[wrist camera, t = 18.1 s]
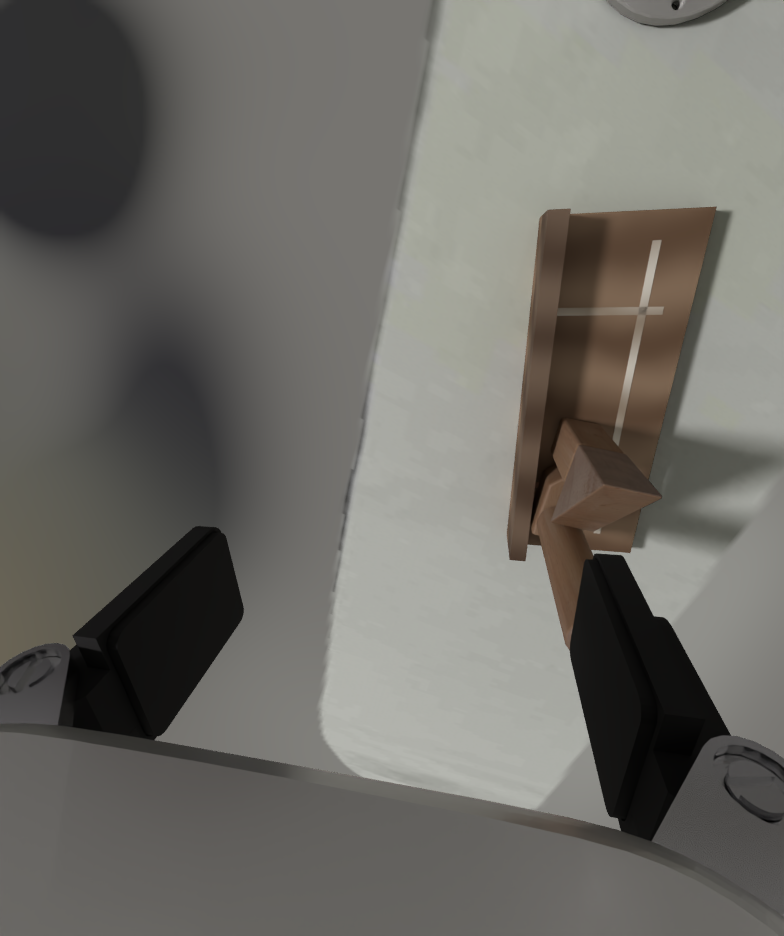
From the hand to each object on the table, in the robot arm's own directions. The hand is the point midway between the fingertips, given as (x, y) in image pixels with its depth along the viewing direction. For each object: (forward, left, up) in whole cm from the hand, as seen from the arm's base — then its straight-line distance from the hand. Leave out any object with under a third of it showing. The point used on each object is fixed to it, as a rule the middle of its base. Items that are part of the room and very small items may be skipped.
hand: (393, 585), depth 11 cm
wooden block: (+10, +11, -31) cm, 34 cm away
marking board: (+4, +12, -32) cm, 34 cm away
